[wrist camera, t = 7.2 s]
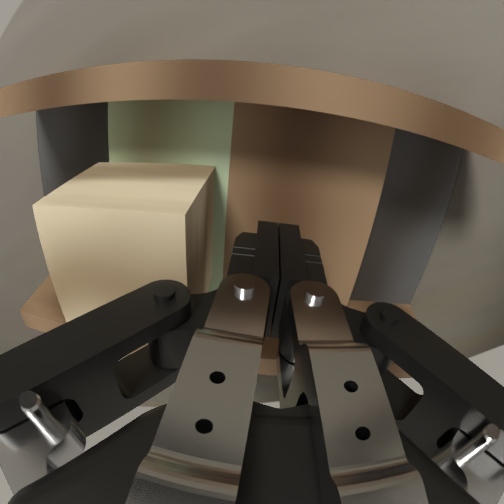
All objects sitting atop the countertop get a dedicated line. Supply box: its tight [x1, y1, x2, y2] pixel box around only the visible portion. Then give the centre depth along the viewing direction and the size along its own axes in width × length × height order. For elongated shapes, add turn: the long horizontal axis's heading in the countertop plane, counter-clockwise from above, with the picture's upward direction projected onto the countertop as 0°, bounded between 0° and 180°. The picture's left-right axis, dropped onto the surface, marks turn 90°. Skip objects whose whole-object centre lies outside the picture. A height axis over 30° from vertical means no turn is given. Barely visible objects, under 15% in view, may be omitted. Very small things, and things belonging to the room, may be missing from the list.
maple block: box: [32, 162, 215, 344], centre depth 11 cm, size 5×5×4 cm
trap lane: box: [0, 59, 504, 378], centre depth 13 cm, size 22×12×5 cm, turn 85°
